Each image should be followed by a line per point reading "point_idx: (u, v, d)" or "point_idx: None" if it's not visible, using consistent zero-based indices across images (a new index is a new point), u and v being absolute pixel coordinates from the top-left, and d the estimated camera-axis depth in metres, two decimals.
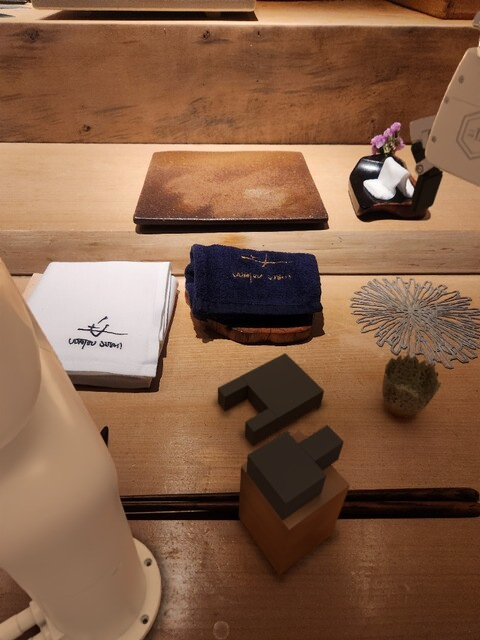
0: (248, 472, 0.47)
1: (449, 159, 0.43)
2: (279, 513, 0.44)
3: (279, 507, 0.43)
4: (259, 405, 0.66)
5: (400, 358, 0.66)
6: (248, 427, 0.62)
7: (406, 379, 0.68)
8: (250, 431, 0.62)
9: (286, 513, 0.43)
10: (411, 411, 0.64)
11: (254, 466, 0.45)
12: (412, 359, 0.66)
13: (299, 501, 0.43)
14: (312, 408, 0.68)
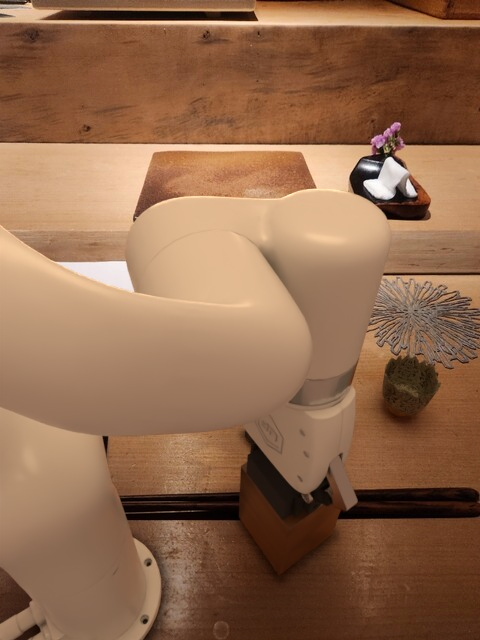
0: (248, 472, 0.47)
1: (253, 433, 0.41)
2: (279, 513, 0.44)
3: (279, 507, 0.43)
4: None
5: (400, 358, 0.66)
6: None
7: (406, 379, 0.68)
8: None
9: (286, 513, 0.43)
10: (411, 411, 0.64)
11: (254, 466, 0.45)
12: (412, 359, 0.66)
13: None
14: None
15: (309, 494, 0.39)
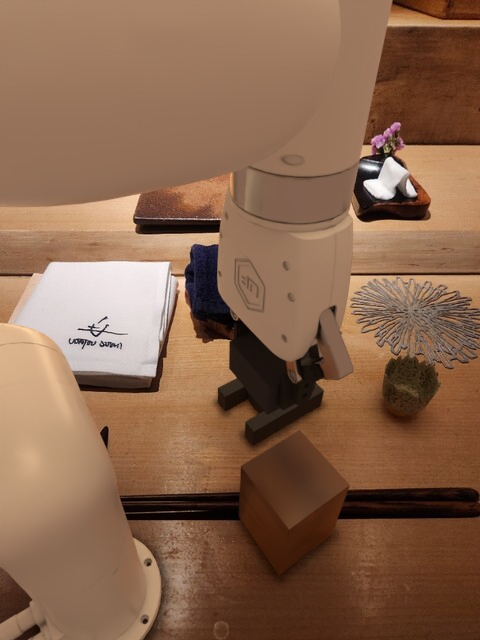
0: (231, 365, 0.41)
1: (233, 301, 0.35)
2: (264, 406, 0.38)
3: (264, 396, 0.37)
4: (259, 405, 0.66)
5: (400, 358, 0.66)
6: (248, 427, 0.62)
7: (406, 379, 0.68)
8: (250, 431, 0.62)
9: (271, 404, 0.37)
10: (411, 411, 0.64)
11: (236, 353, 0.39)
12: (412, 359, 0.66)
13: None
14: (312, 408, 0.68)
15: (297, 370, 0.33)
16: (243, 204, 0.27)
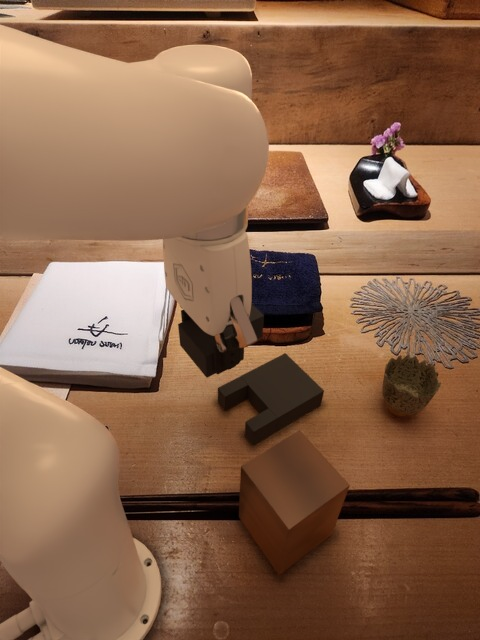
0: (181, 342, 0.53)
1: (176, 294, 0.47)
2: (203, 371, 0.50)
3: (203, 364, 0.50)
4: (259, 405, 0.66)
5: (400, 358, 0.66)
6: (248, 427, 0.62)
7: (406, 379, 0.68)
8: (250, 431, 0.62)
9: (209, 370, 0.50)
10: (411, 411, 0.64)
11: (183, 333, 0.51)
12: (412, 359, 0.66)
13: None
14: (312, 408, 0.68)
15: (221, 342, 0.46)
16: None
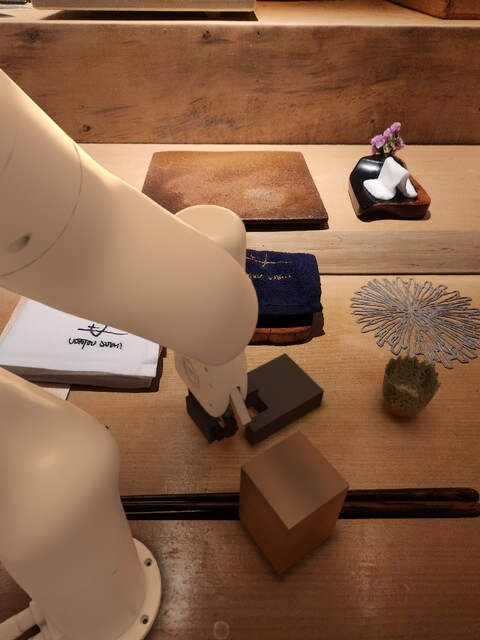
0: (187, 411, 0.62)
1: (184, 377, 0.56)
2: (207, 438, 0.59)
3: (206, 433, 0.59)
4: (259, 405, 0.66)
5: (400, 358, 0.66)
6: (248, 427, 0.62)
7: (406, 379, 0.68)
8: (250, 431, 0.62)
9: (212, 438, 0.59)
10: (411, 411, 0.64)
11: (189, 405, 0.60)
12: (412, 359, 0.66)
13: None
14: (312, 408, 0.68)
15: (222, 420, 0.55)
16: None
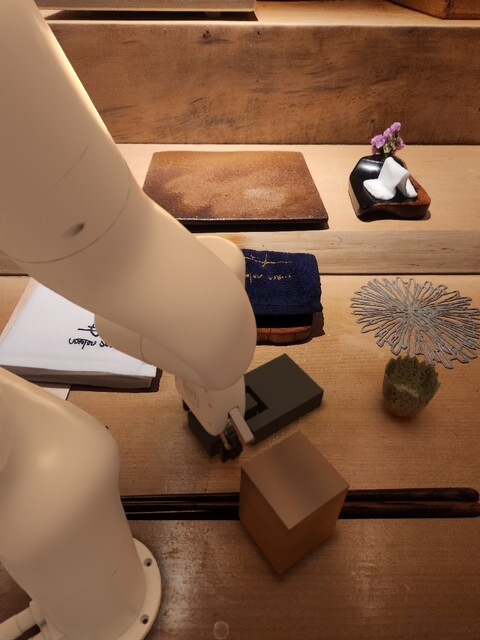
0: (189, 425, 0.65)
1: (184, 396, 0.58)
2: (208, 453, 0.62)
3: (208, 448, 0.61)
4: (259, 405, 0.66)
5: (400, 358, 0.66)
6: None
7: (406, 379, 0.68)
8: None
9: (212, 452, 0.61)
10: (411, 411, 0.64)
11: (191, 420, 0.63)
12: (412, 359, 0.66)
13: None
14: (312, 408, 0.68)
15: (226, 440, 0.56)
16: None
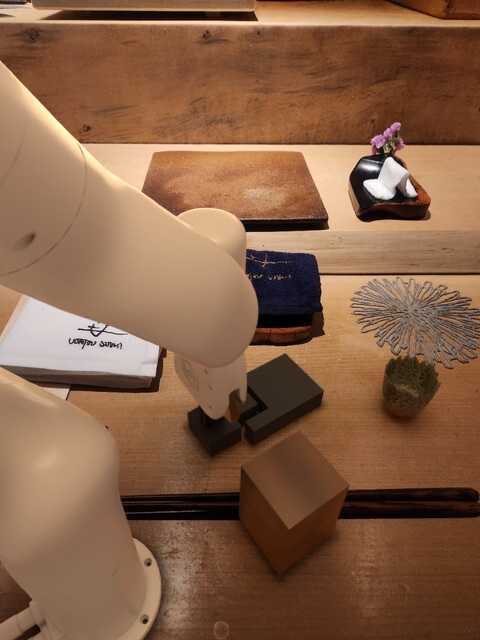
0: (189, 426, 0.65)
1: (183, 380, 0.56)
2: (208, 453, 0.62)
3: (207, 448, 0.61)
4: (259, 405, 0.66)
5: (400, 358, 0.66)
6: (248, 427, 0.62)
7: (406, 379, 0.68)
8: (250, 431, 0.62)
9: (212, 452, 0.61)
10: (411, 411, 0.64)
11: (191, 420, 0.63)
12: (412, 359, 0.66)
13: (222, 444, 0.61)
14: (312, 408, 0.68)
15: None
16: None
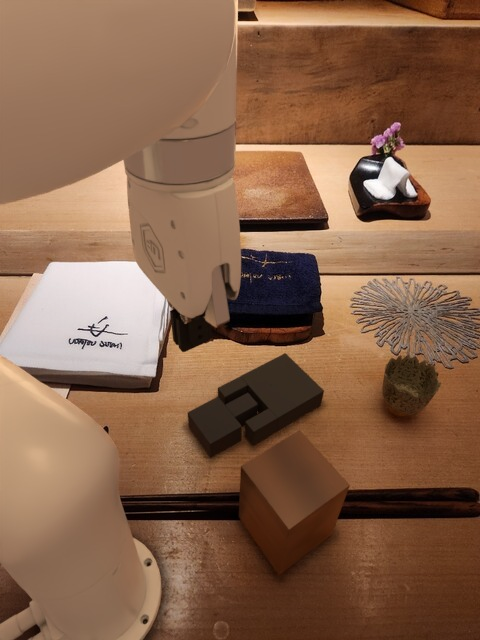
0: (189, 425, 0.65)
1: (145, 266, 0.37)
2: (208, 453, 0.62)
3: (208, 448, 0.61)
4: (259, 405, 0.66)
5: (400, 358, 0.66)
6: (248, 427, 0.62)
7: (406, 379, 0.68)
8: (250, 431, 0.62)
9: (212, 452, 0.61)
10: (411, 411, 0.64)
11: (191, 420, 0.63)
12: (412, 359, 0.66)
13: (222, 444, 0.61)
14: (312, 408, 0.68)
15: None
16: (130, 168, 0.29)
